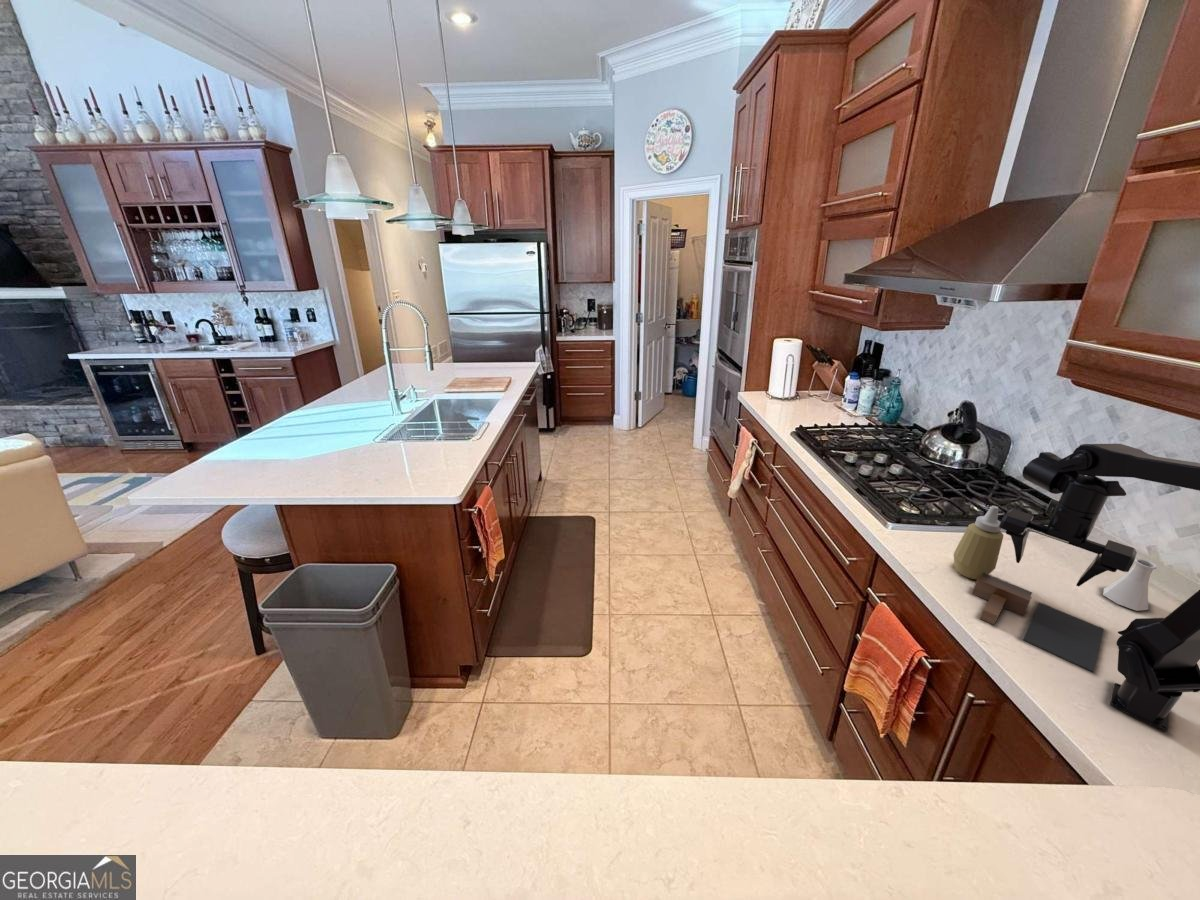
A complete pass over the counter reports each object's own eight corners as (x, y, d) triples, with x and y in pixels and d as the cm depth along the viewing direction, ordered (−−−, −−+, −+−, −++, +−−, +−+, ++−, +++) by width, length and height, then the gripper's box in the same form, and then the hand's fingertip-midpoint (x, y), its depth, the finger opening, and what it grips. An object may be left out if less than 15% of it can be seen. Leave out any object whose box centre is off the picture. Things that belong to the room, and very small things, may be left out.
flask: (1110, 585, 108) (1130, 549, 104) (1155, 605, 102) (1178, 568, 98) (1095, 594, 105) (1115, 557, 101) (1140, 615, 99) (1163, 577, 95)
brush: (1013, 634, 94) (1021, 618, 92) (960, 609, 100) (966, 595, 99) (1027, 605, 101) (1034, 591, 100) (977, 584, 108) (983, 570, 106)
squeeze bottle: (955, 557, 117) (979, 494, 110) (995, 574, 111) (1023, 508, 104) (943, 570, 112) (967, 505, 105) (984, 588, 107) (1012, 520, 99)
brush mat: (1092, 672, 86) (1093, 671, 86) (1022, 640, 93) (1023, 638, 93) (1103, 630, 95) (1103, 628, 95) (1039, 603, 102) (1039, 602, 102)
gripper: (1156, 512, 86) (1118, 580, 92) (1026, 476, 99) (1001, 538, 106) (1150, 533, 80) (1109, 605, 86) (1012, 492, 93) (986, 556, 99)
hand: (1046, 573), depth 94 cm, fingers open, 9 cm apart
